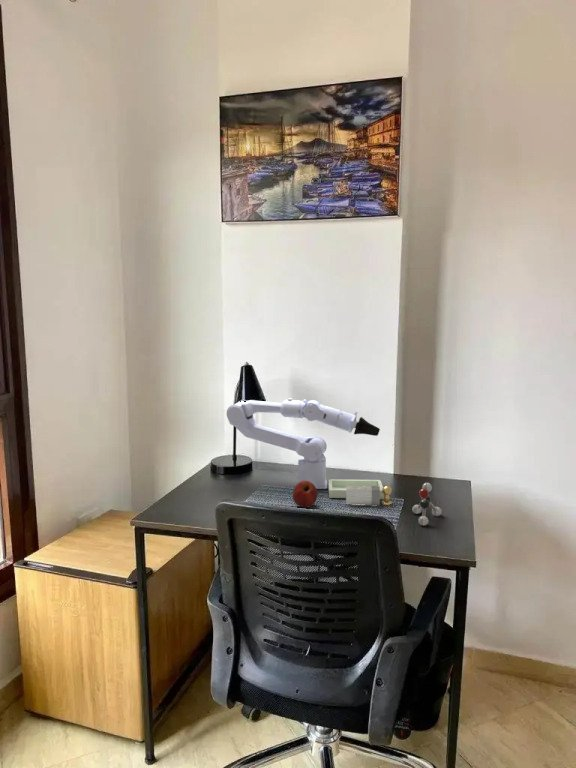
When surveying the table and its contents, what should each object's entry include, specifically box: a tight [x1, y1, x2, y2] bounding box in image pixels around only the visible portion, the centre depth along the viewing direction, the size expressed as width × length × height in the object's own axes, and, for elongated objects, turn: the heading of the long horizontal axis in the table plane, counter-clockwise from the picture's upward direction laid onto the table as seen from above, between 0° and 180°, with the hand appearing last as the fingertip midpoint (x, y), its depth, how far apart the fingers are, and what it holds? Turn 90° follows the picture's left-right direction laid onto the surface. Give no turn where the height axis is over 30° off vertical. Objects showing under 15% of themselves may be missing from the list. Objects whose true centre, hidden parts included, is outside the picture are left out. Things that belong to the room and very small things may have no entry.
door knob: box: [381, 485, 392, 506], centre depth 179 cm, size 3×3×6 cm
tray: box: [327, 479, 384, 500], centre depth 189 cm, size 17×11×3 cm, turn 87°
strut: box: [345, 486, 381, 506], centre depth 179 cm, size 10×4×5 cm, turn 87°
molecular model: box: [411, 482, 442, 527], centre depth 165 cm, size 8×12×11 cm
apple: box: [292, 481, 318, 508], centre depth 176 cm, size 7×8×8 cm
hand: (378, 432), depth 189 cm, fingers open, 7 cm apart
